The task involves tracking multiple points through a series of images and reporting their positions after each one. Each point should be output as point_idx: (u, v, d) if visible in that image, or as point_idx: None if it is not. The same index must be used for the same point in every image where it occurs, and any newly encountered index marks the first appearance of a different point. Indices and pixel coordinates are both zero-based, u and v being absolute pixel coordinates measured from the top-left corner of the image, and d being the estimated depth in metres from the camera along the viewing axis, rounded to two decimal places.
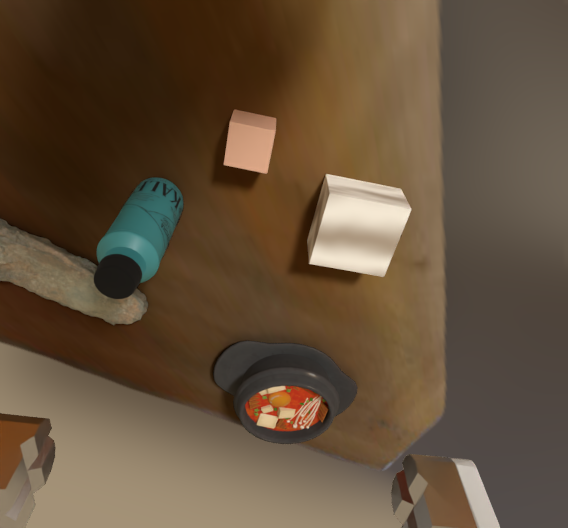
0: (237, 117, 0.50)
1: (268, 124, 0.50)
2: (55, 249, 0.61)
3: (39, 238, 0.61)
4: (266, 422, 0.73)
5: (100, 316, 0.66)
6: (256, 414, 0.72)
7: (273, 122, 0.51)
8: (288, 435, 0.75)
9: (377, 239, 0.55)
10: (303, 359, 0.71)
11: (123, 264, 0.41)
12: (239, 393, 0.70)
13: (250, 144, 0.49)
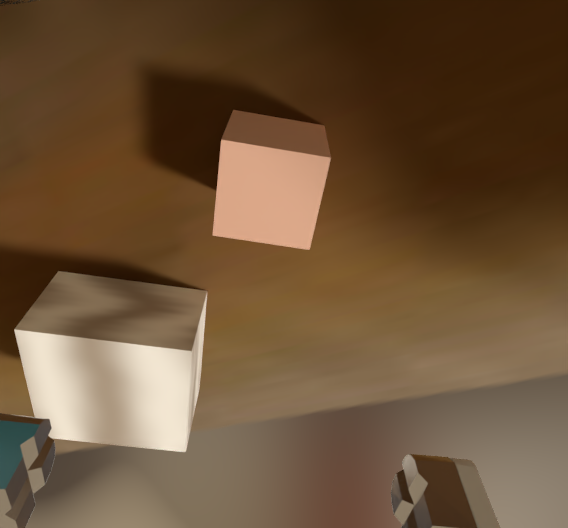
0: None
1: None
2: None
3: None
4: None
5: None
6: None
7: None
8: None
9: (113, 421, 0.30)
10: None
11: None
12: None
13: (276, 201, 0.22)
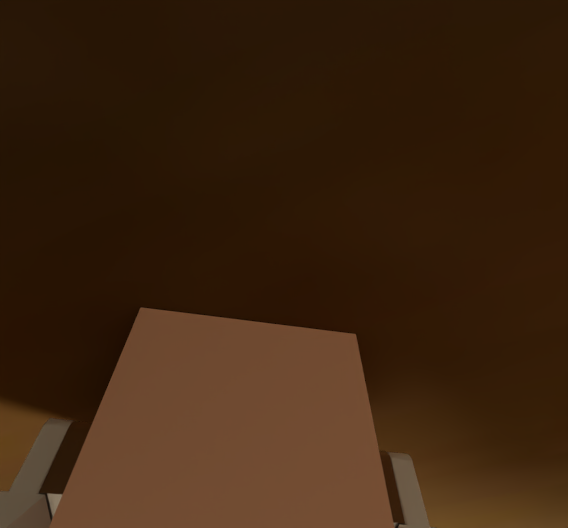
0: None
1: None
2: None
3: None
4: None
5: None
6: None
7: None
8: None
9: None
10: None
11: None
12: None
13: None
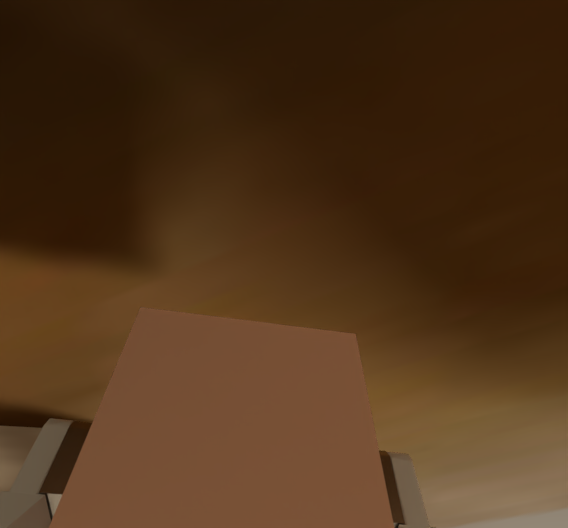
0: None
1: None
2: None
3: None
4: None
5: None
6: None
7: None
8: None
9: None
10: None
11: None
12: None
13: None
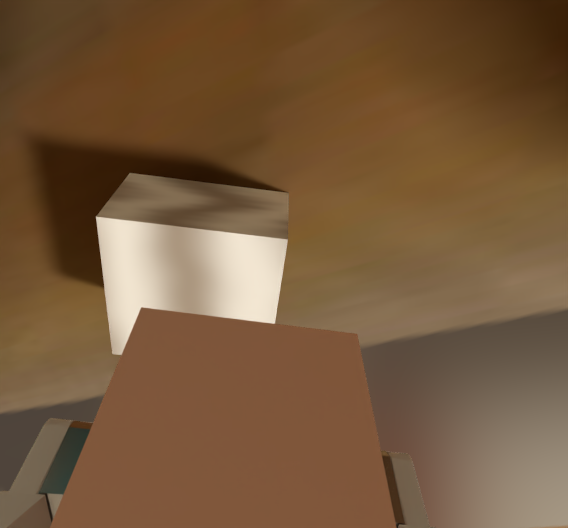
0: None
1: None
2: None
3: None
4: None
5: None
6: None
7: None
8: None
9: None
10: None
11: None
12: None
13: None
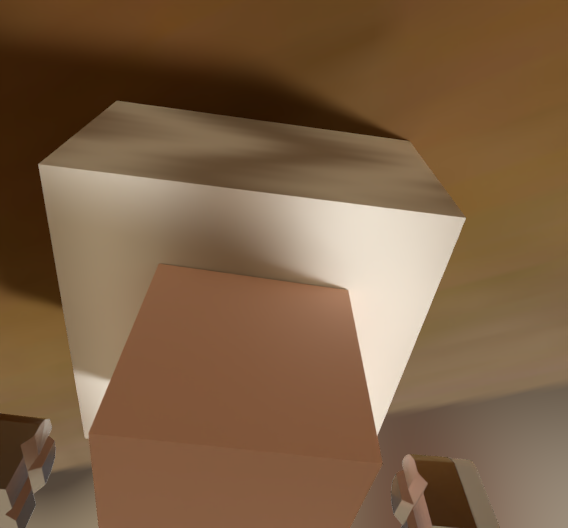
0: None
1: None
2: None
3: None
4: None
5: None
6: None
7: None
8: None
9: None
10: None
11: None
12: None
13: (245, 527, 0.09)
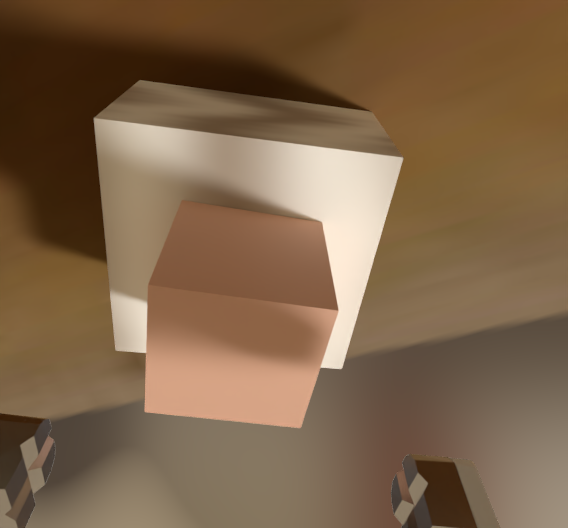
0: None
1: None
2: None
3: None
4: None
5: None
6: None
7: None
8: None
9: None
10: None
11: None
12: None
13: (248, 369, 0.13)
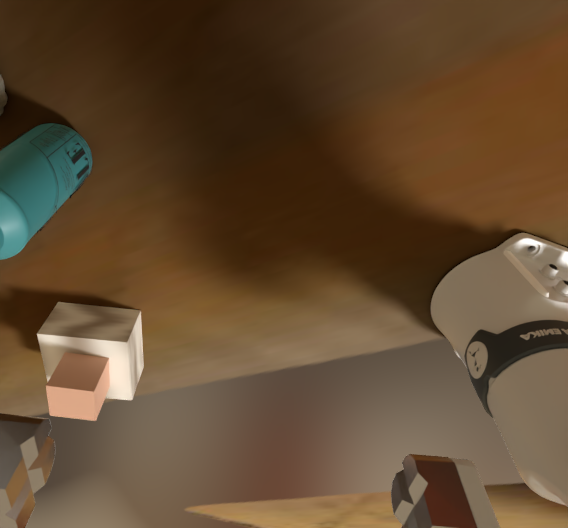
0: (100, 381, 0.50)
1: (100, 402, 0.52)
2: None
3: None
4: None
5: None
6: None
7: (104, 398, 0.53)
8: None
9: None
10: None
11: None
12: None
13: (75, 404, 0.49)
